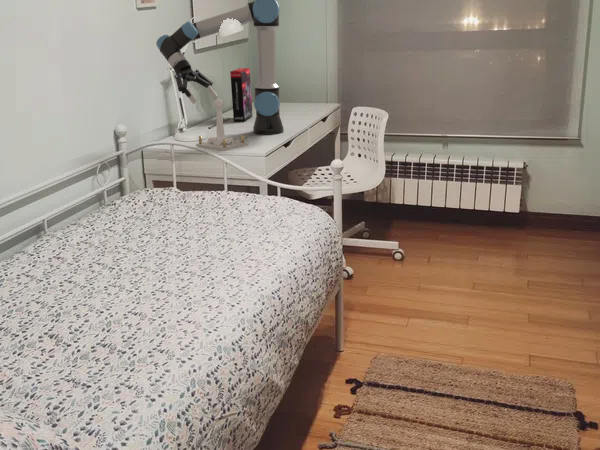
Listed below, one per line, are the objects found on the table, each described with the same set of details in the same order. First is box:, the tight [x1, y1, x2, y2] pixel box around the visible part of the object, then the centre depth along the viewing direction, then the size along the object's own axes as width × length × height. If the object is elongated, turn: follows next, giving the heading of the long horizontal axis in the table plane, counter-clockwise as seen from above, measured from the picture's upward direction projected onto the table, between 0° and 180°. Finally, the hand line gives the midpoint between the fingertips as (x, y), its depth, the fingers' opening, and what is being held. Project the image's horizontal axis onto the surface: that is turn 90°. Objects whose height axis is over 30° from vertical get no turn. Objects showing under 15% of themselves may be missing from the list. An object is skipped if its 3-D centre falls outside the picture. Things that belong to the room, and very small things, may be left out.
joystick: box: [207, 98, 234, 145], centre depth 311 cm, size 11×8×20 cm
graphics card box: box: [229, 67, 253, 123], centre depth 379 cm, size 17×7×27 cm, turn 168°
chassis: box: [195, 134, 249, 152], centre depth 315 cm, size 16×17×5 cm
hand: (205, 99), depth 314 cm, fingers open, 13 cm apart
